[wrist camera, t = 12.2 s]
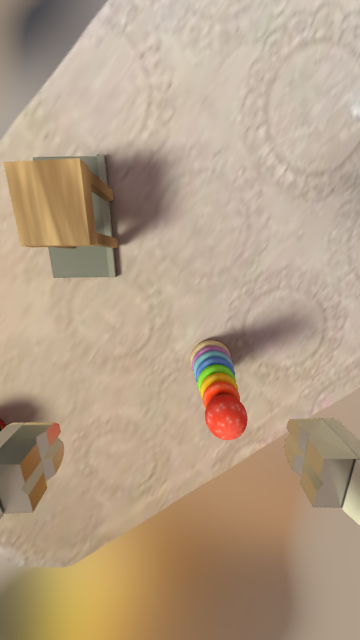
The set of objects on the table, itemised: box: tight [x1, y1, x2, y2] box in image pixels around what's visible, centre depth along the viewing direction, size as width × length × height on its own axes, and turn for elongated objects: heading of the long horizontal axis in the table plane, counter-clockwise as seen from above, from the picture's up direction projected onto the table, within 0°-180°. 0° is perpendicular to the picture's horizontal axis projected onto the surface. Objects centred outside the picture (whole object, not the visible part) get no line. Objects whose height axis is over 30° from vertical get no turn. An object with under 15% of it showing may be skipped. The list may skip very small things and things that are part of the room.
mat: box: [33, 155, 117, 278], centre depth 34 cm, size 11×18×1 cm, turn 1°
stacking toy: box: [190, 340, 247, 440], centre depth 32 cm, size 8×8×19 cm
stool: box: [4, 158, 118, 249], centre depth 29 cm, size 10×9×9 cm
